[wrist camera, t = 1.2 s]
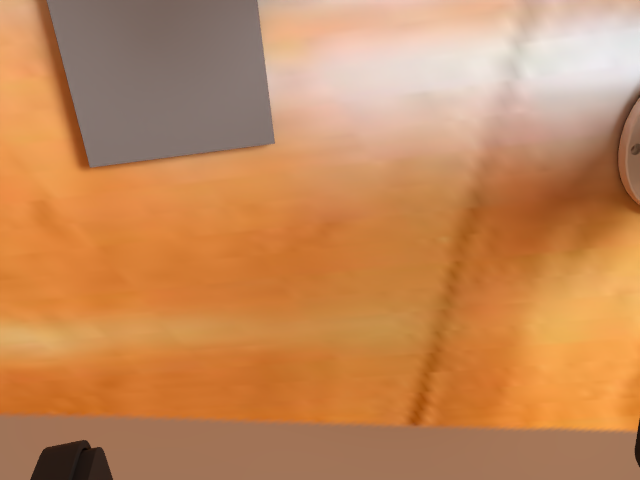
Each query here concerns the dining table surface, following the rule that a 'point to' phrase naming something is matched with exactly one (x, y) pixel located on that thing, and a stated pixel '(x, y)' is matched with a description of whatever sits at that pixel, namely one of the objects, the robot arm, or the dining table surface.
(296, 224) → the dining table surface
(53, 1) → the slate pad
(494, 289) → the dining table surface
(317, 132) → the dining table surface
